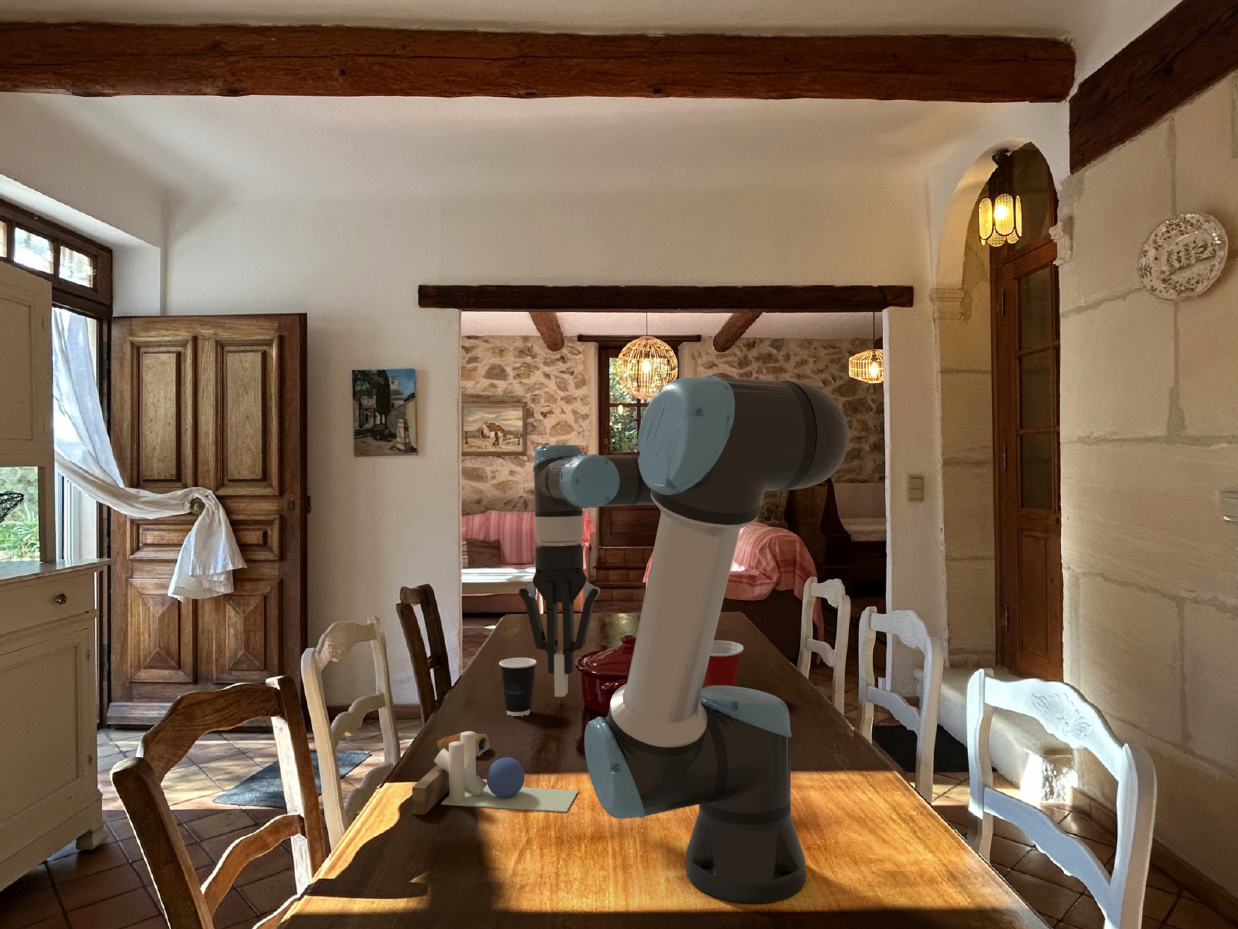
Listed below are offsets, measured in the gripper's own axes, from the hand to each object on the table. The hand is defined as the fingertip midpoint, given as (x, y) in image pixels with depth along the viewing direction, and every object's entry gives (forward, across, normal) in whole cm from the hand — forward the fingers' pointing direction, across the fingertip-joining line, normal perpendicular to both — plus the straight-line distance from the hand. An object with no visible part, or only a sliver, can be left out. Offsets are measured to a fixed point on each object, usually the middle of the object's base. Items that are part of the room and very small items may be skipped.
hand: (561, 694), depth 127 cm
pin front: (+16, +13, -1) cm, 21 cm away
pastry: (+17, +23, -20) cm, 35 cm away
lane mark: (+17, +9, -1) cm, 19 cm away
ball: (+14, +10, -1) cm, 17 cm away
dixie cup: (+16, +20, -44) cm, 51 cm away
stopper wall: (+17, +21, -1) cm, 26 cm away
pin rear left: (+17, +16, -3) cm, 24 cm away
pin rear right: (+17, +17, +2) cm, 24 cm away
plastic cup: (+16, -23, -61) cm, 67 cm away
